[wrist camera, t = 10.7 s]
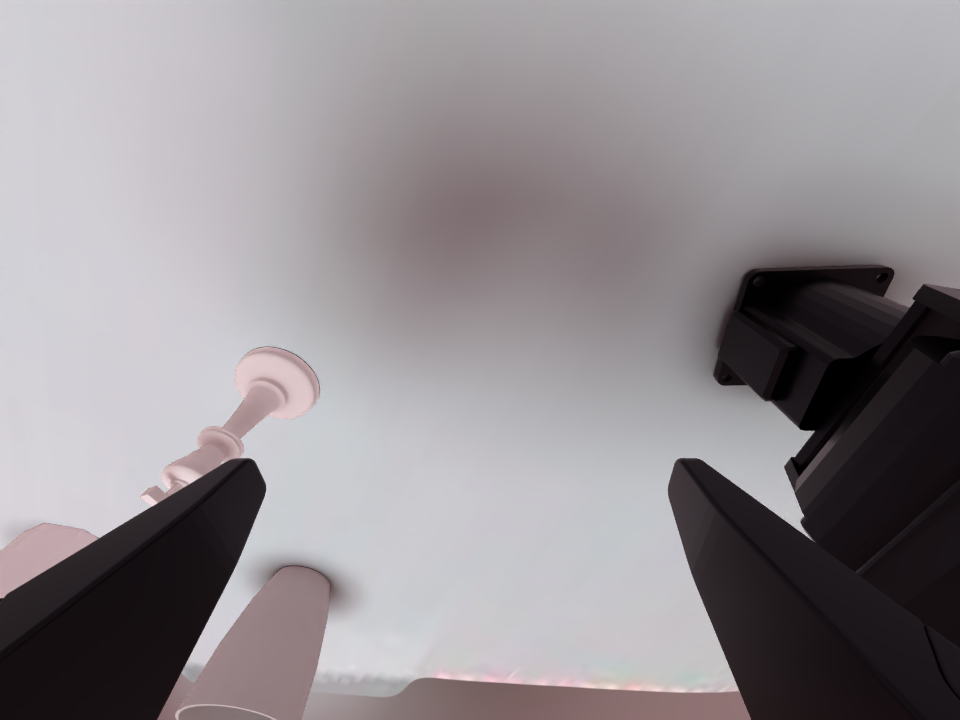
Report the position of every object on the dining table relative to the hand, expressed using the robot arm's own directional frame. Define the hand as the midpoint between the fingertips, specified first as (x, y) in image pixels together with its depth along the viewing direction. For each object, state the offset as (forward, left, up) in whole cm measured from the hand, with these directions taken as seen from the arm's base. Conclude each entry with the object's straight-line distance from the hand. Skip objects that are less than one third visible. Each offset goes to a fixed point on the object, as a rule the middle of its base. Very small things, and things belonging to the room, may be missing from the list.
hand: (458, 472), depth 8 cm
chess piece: (+13, +6, -13) cm, 19 cm away
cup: (+18, +28, -13) cm, 36 cm away
